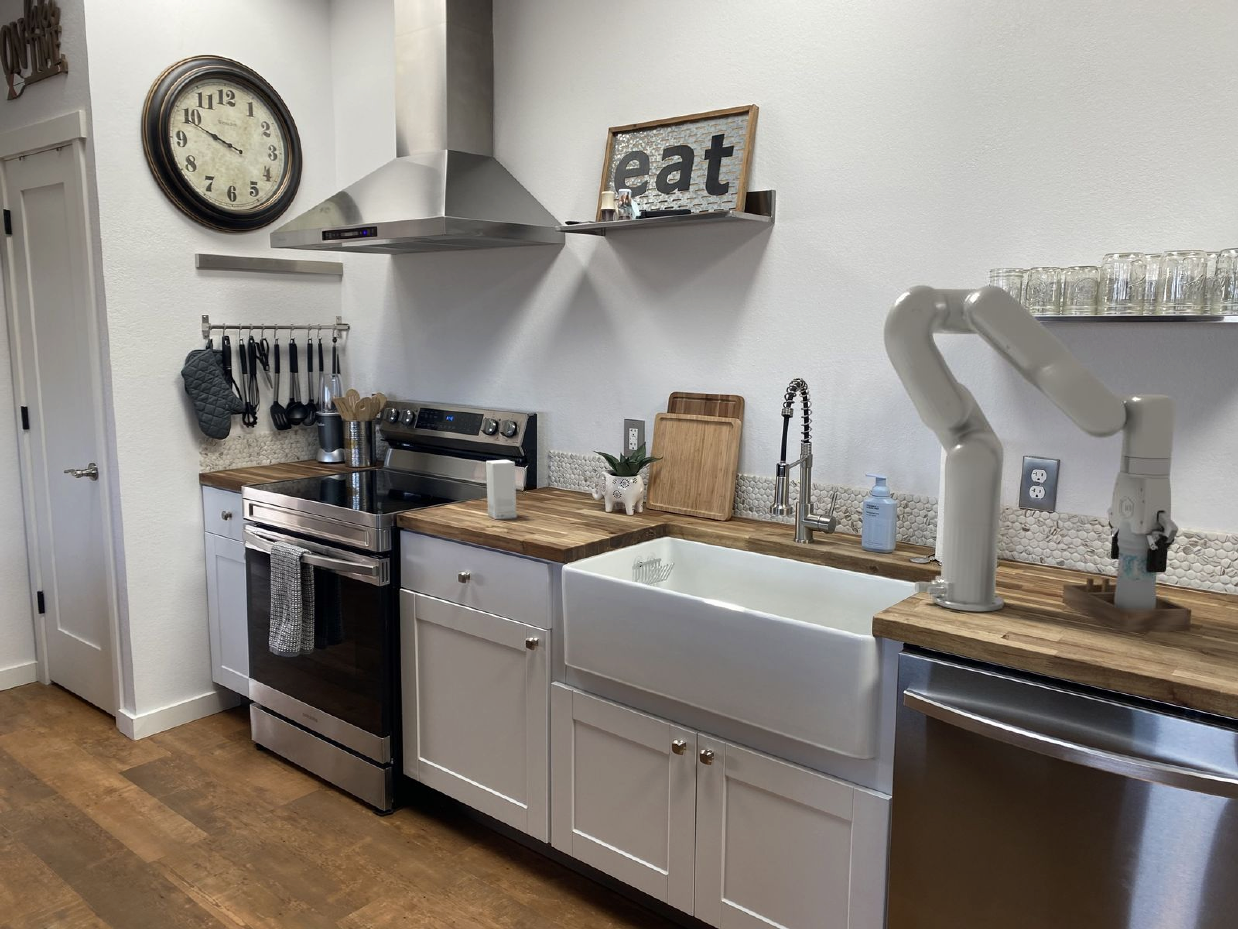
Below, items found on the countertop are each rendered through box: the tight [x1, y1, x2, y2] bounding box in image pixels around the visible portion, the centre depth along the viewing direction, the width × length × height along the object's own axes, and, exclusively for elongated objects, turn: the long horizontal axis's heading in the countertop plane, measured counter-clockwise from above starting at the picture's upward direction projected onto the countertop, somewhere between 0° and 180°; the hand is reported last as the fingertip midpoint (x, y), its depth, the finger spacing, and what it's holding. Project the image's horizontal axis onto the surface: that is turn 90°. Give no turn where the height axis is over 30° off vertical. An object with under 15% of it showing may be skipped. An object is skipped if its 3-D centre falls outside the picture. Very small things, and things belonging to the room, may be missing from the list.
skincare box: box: [485, 459, 518, 520], centre depth 259 cm, size 8×7×16 cm
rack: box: [1062, 577, 1192, 633], centre depth 166 cm, size 12×18×5 cm, turn 5°
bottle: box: [1114, 520, 1159, 610], centre depth 162 cm, size 7×7×20 cm
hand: (1137, 565), depth 162 cm, fingers open, 9 cm apart
